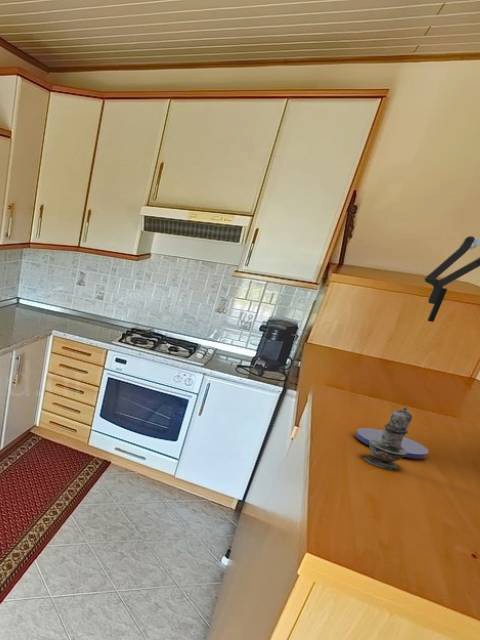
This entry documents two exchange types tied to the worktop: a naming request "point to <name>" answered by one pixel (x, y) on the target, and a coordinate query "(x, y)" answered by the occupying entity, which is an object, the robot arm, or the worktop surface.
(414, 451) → the plate
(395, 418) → the grey tall tiered piece
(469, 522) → the worktop surface
